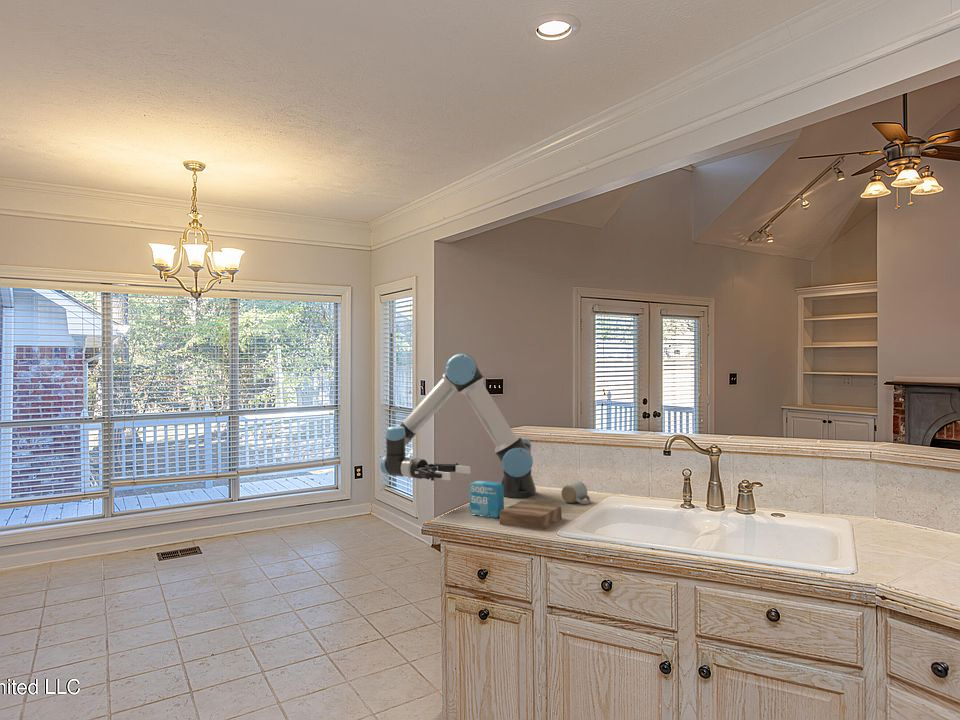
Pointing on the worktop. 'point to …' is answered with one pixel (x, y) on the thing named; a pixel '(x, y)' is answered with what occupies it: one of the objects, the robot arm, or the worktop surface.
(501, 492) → the data package
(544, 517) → the walnut block
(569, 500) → the ceramic mug
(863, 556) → the worktop surface
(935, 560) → the worktop surface
